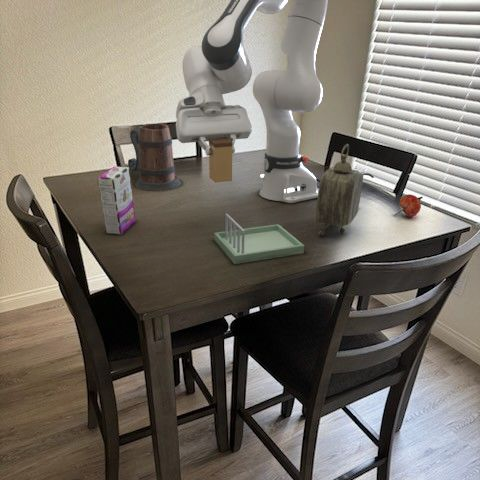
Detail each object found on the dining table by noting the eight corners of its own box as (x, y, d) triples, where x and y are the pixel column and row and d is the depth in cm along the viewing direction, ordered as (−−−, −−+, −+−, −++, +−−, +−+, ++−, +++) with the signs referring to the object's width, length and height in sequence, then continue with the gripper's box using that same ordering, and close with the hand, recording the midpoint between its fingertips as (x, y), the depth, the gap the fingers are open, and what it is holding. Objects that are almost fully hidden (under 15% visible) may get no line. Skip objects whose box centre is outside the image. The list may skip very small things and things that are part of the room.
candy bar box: (120, 219, 147) (113, 165, 138) (135, 221, 146) (130, 166, 137) (104, 233, 137) (96, 176, 129) (120, 235, 137) (113, 178, 128)
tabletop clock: (327, 221, 149) (338, 137, 136) (356, 226, 146) (370, 141, 132) (313, 237, 138) (323, 148, 125) (343, 243, 135) (357, 152, 121)
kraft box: (226, 175, 132) (226, 138, 126) (232, 181, 128) (232, 142, 123) (209, 177, 130) (208, 139, 125) (215, 182, 127) (214, 143, 121)
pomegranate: (400, 227, 152) (430, 210, 149) (389, 207, 150) (419, 190, 147) (397, 221, 159) (426, 204, 155) (387, 202, 157) (415, 185, 153)
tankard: (190, 182, 179) (188, 126, 168) (157, 193, 168) (152, 133, 157) (147, 170, 191) (143, 117, 180) (114, 180, 180) (107, 123, 169)
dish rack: (277, 231, 142) (279, 204, 137) (303, 253, 129) (306, 224, 125) (214, 240, 135) (213, 212, 131) (234, 264, 123) (235, 234, 118)
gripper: (241, 112, 134) (253, 156, 131) (169, 116, 127) (181, 163, 125) (247, 97, 128) (261, 143, 126) (173, 100, 121) (185, 149, 119)
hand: (220, 153), depth 125 cm, fingers closed on kraft box, 5 cm apart
